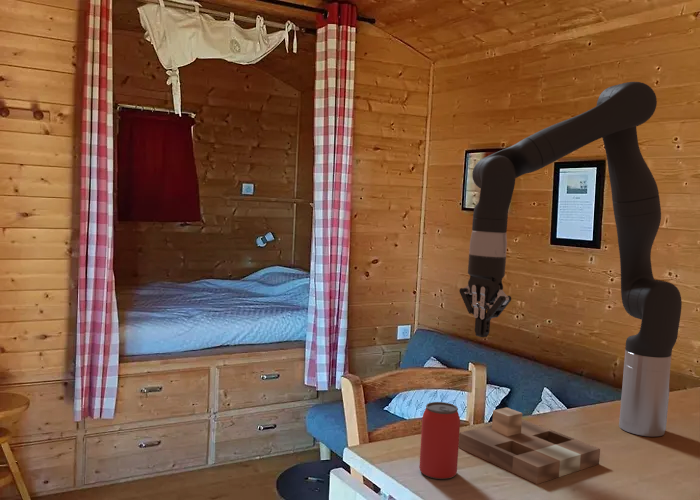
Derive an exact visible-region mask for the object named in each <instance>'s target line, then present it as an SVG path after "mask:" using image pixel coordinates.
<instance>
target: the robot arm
mask: <svg viewBox="0 0 700 500" xmlns="http://www.w3.org/2000/svg"><path fill="white" fill-rule="evenodd" d="M657 105H658V100H657V95H656V93H655V91H654V90H653V88H652V87H651V86H650V85H648V84H647V83H644V82H641V81H629V82H623V83H619V84H615V85H611V86H608V87H607V88H605V89H604V90H603V91H602V92H601V93H600V95H599V97H598V99H597V101H596V106H594V107H593V108H590V109H589V110H587V111H584V112H582V113H579V114H578V115H575V116H573V117H570V118H567V119H565V120H562V121H560V122H559V121H558V122H557V123H554V124H552V125H550V126H546V127H545V128H543V129H540V130H539V131H537V132H534V133H533V134H530V135H529V136H527V137H525V138H523V139H521V140H520V141H518V142H516V143H515V144H513V145H510V146H509V147H506V148H503V149H502V150H499V151H496V152H494V153H491V154H489V155H487V156H485V157H483V158H482V159H480V160H478V162H477V163H476V164H475V165H474V167H473V169H472V173H471V174H472V176H471V177H472V180H473V182H474V184H475V186H476V187H477V188H479V189H480V192H479V199H478V202H477V204H475V206H474V209H473V212H472V213H473V215H472V223H471V224H472V227H471V230H472V231H471V235H470V239H469V249H468V252H469V254H468V265H467V266H468V267H467V274H468V275H469V279H468V283H467V285H466V286H465V287H461V288H459V294H460V296H461V298H462V301H463V303H464V305H465V307H466V310H467V312H468V314H471V315H473V317H474V318H475V321H474V323H475V324H474V333H475V337H479V338H487V337H488V336H489V334H490V329H491V320H492V319H495V318H498V317H500V315H501V314H502V313H503V312H504V310H505V309H506V307H507V306H508V305H510V302H511V301H512V296H511V295H507V294H506V292H505V291H504V285H503V278H505V275H506V262H507V249H508V241H507V240H508V238H507V237H508V236H507V235H508V234H507V231H508V221H509V220H508V219H509V217H508V216H509V215H508V214H509V208H510V205H511V202H512V199H513V198H512V197H513V193H514V191H515V185H516V179H517V178H519V177H521V176H523V175H526V174H531V173H534V172H536V171H539V170H541V169H543V168H545V167H547V166H549V165H550V164H553V163H554V162H556V161H559V160H560V159H562V158H564V157H566V156H568V155H570V154H571V153H573V152H576V151H578V150H579V149H581V148H583V147H585V146H587V145H589V144H590V143H593V142H595V141H598V140H600V139H602V142H603V146H604V149H605V155H606V162H607V169H608V177H609V182H610V183H609V185H610V189H611V190H610V191H611V201H612V208H613V216H614V222H615V226H616V227H615V229H616V234H617V235H616V236H617V244H618V253H619V261H620V263H619V265H620V296H621V302H622V306H623V308H624V310H625V312H626V313H627V314H628V315H629V316H631V317H633V318H635V319H638V320H641V323H640V329H639V332H638V333H636V334H633V335H630V336H628V337H627V338H626V340H625V348H624V360H623V361H624V362H623V373H622V374H623V376H622V384H621V385H622V388H621V398H620V411H619V419H618V422H619V423H618V426H619V428H620V429H621V430H623V431H624V432H628V433H630V434H634V435H637V436H643V437H661V436H664V435H665V432H666V430H667V421H668V409H669V400H670V399H669V397H670V376H671V365H672V363H671V362H672V353H673V348H674V346H675V344H677V343H676V342H677V340H678V336H679V329H680V322H681V317H682V316H681V315H682V303H683V302H682V296H681V295H682V294H681V292H680V290H679V288H678V287H677V286H676V285H675V284H673V283H671V282H669V281H666V280H665V281H664V280H660V279H655V277H654V274H653V268H652V260H651V257H652V255H651V254H652V248H653V245H654V241H655V239H656V238H657V234H658V232H659V228H660V226H661V222H662V209H661V208H662V207H661V201H660V200H661V199H660V194H659V193H660V192H659V188H658V184H657V181H656V179H655V177H654V174H653V173H652V171H651V169H650V168H649V166H648V164H647V162H646V161H645V159H644V157H643V155H642V151H641V149H640V145H639V140H638V131H637V127H639V126H641V125H643V124H645V123H646V122H648V121H649V120H650V119H651V118H652V116H654V114H655V112H656V109H657Z"/></svg>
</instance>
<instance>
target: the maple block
mask: <svg viewBox="0 0 700 500" xmlns="http://www.w3.org/2000/svg"><path fill="white" fill-rule="evenodd" d="M522 419H523V413H522V412H520V411H518V410H515V409H513V408H512V409H511V408H510V407H503V408H498V409H493V410H492V421H491V422H492V424H491V425H492V430H493V431H496V432H498V433H500V434H503V435H505V436H511V435H515V434H519V433H521V427H522Z"/></svg>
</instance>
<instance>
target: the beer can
mask: <svg viewBox="0 0 700 500" xmlns="http://www.w3.org/2000/svg"><path fill="white" fill-rule="evenodd" d="M458 410H459V408H458V406H456V405H455V404H452V403H449V402H444V401H443V402H442V401H433V402H432V401H431V402H429V403H427V404H426V405H425V410H424V411H423V414H422V417H421V418H422V419H421V436H420V451H419V452H420V453H419V465H418V466H419V471H420V473H421V474H422V475H423V476H426V477H428V478H431V479H435V480H448V479H451V478H453V477H455V476H456V475H457V473H458V460H459V459H458V458H459V433H460V429H461V418H460V415H459V411H458Z"/></svg>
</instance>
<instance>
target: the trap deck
mask: <svg viewBox="0 0 700 500" xmlns="http://www.w3.org/2000/svg"><path fill="white" fill-rule="evenodd" d="M458 449H461V450H463V451H465V452H467V453H469V454H472V455H474V456H476V457H477V458H480V459H482V460H484V461H487V462H489V463H490V464H493V465H495V466H497V467H499V468H501V469H504V470H506V471H508V472H510V473H511V474H514V475H516V476H519V477H521V478H523V479H524V480H527V481H528V482H531V483H534V484H536V485H538V484H542V483H544V482H548V481H551V480H554V479H557V478H560V477H565V476H566V475H570V474H573V473H577V472H579V471H582V470H584V469H588V468H591V467H594V466H597V465H599V464H600V458H601V457H600V456H601V448H600V447H597V446H594V445H591V444H590V443H587V442H584V441H581V440H578V439H577V438H574V437H571V436H568V435H565V434H562V433H560V432H557V431H555V430H551V429H549V428H547V427H544V426H542V425H538V424H536V423H533V422H531V421H528V420H525V419H523V418H522V427H521V433H519V434H515V435H511V436H505V435H503V434H500V433H498V432H496V431H493V430H492V424H490V425H487V426H482V427H478V428H474V429H469V430H465V431H461V432H460V431H459V447H458Z"/></svg>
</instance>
